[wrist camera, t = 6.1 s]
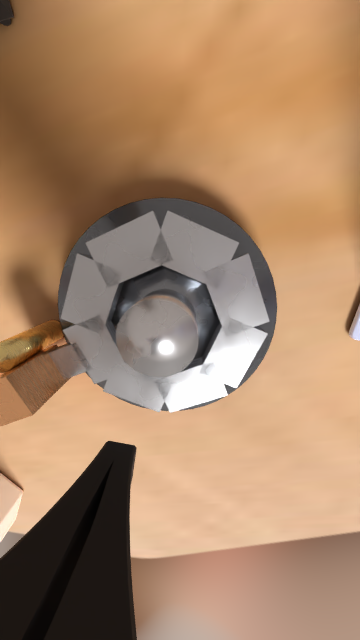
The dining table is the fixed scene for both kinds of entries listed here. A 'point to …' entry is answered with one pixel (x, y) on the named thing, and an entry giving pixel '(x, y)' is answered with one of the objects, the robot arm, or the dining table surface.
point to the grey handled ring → (100, 334)
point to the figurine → (5, 12)
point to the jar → (8, 504)
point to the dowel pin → (28, 344)
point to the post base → (171, 297)
